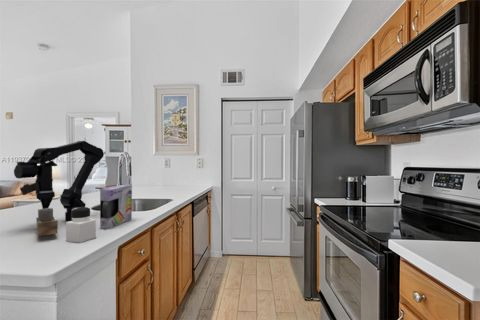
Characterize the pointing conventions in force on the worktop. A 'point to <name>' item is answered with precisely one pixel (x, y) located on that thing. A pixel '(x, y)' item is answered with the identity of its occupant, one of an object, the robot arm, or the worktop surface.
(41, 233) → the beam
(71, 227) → the medicine bottle
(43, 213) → the grey block
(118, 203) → the cake pan box
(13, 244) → the worktop surface
